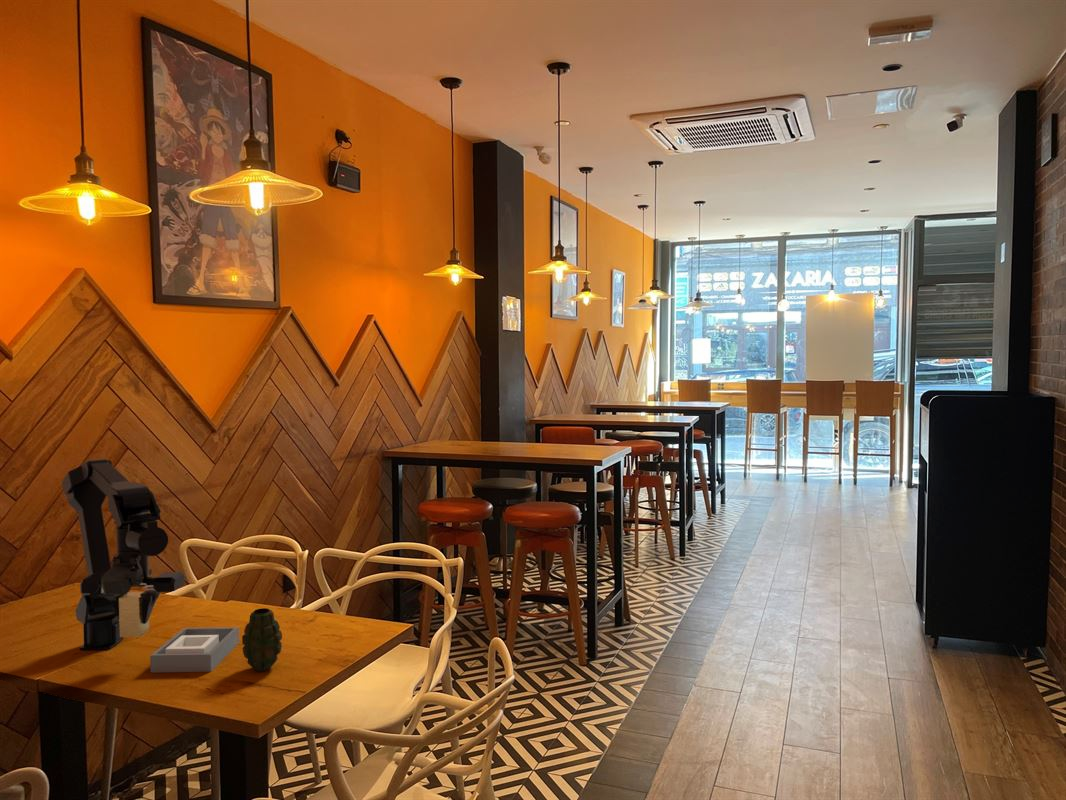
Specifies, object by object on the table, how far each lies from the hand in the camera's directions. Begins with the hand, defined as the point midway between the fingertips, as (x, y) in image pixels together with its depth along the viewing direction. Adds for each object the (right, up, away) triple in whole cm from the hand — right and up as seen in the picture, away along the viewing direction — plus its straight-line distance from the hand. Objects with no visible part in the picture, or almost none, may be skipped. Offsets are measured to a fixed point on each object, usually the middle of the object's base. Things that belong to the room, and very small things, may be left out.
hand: (134, 623), depth 154 cm
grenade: (+27, -9, -1) cm, 28 cm away
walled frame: (+11, -9, +5) cm, 15 cm away
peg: (0, -2, 0) cm, 2 cm away
